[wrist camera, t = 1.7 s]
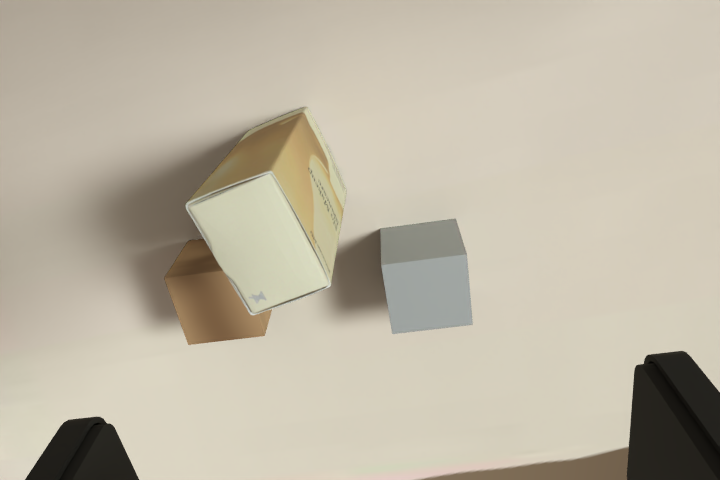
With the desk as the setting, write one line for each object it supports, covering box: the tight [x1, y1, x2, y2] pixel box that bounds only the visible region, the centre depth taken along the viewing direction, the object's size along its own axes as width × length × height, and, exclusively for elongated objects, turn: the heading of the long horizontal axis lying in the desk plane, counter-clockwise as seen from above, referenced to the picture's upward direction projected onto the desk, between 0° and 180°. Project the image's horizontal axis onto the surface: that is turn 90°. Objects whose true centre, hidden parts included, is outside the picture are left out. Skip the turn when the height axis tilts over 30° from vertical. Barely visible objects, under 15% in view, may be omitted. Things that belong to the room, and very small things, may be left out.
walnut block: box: [164, 239, 272, 345], centre depth 37 cm, size 5×5×5 cm
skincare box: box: [186, 107, 346, 315], centre depth 30 cm, size 6×4×12 cm
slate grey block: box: [380, 219, 473, 334], centre depth 36 cm, size 5×5×5 cm
